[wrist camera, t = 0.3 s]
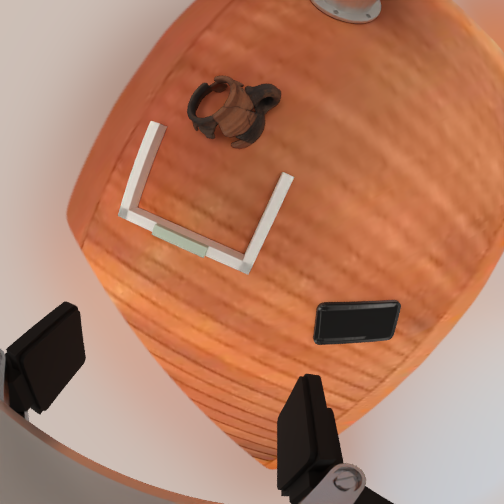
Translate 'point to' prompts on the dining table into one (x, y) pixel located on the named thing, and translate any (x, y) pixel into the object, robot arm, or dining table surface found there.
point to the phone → (355, 321)
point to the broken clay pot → (235, 110)
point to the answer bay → (183, 235)
